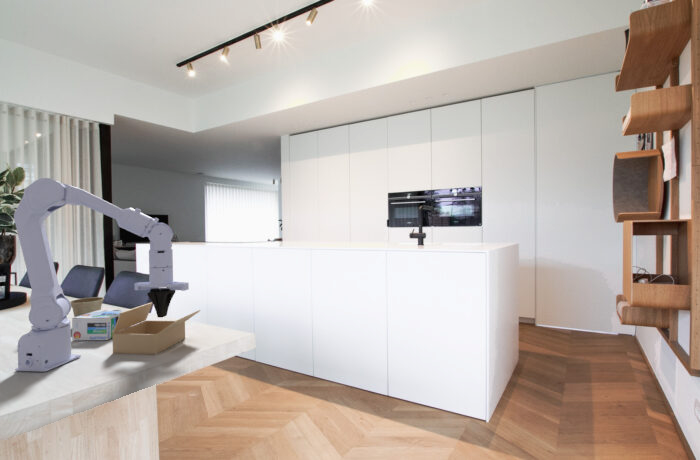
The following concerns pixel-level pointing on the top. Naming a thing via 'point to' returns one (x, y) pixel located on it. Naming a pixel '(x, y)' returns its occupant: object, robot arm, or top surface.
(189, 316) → the flap
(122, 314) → the flap
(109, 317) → the light bulb box
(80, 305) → the flower pot
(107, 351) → the top surface
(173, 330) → the carton
